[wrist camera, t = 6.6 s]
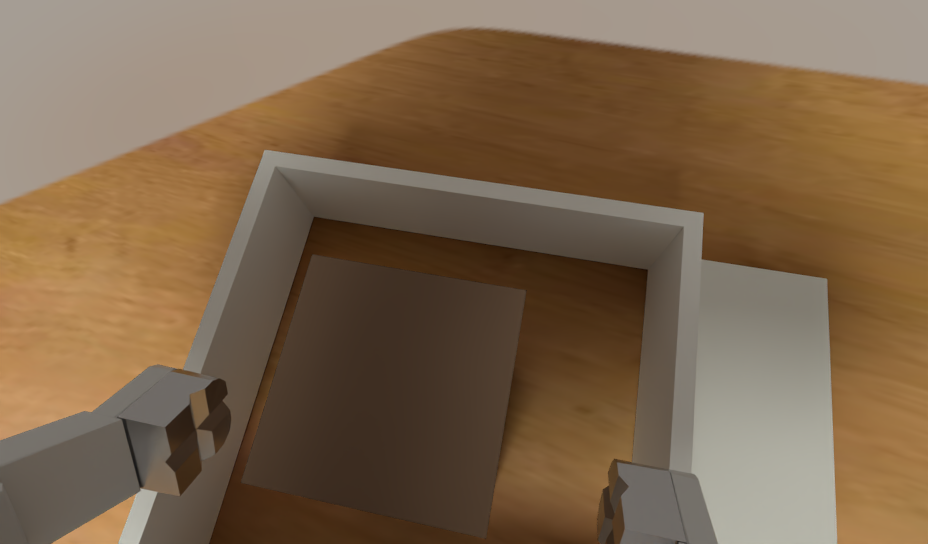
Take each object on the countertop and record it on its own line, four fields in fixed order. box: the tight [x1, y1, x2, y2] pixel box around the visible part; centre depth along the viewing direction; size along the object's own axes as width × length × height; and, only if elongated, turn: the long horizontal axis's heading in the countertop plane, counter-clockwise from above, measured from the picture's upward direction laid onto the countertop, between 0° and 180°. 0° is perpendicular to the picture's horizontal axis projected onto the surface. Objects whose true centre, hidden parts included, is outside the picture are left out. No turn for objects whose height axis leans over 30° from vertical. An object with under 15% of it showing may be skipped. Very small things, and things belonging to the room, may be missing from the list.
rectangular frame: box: [118, 150, 837, 544], centre depth 13 cm, size 18×18×4 cm
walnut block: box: [241, 254, 527, 539], centre depth 12 cm, size 4×4×8 cm
